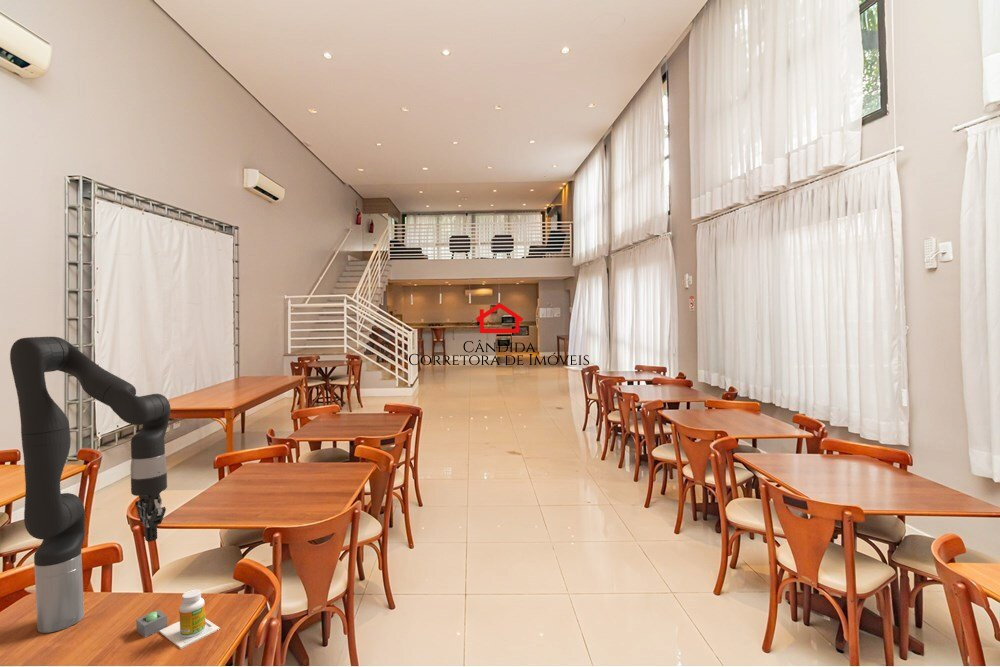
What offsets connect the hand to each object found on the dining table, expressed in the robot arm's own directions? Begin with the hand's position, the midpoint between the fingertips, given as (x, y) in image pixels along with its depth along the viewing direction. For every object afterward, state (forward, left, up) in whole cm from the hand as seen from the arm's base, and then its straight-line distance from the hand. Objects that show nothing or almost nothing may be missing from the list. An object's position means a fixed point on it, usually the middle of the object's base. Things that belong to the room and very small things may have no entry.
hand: (151, 540), depth 127 cm
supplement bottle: (+11, +4, -22) cm, 25 cm away
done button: (+1, -1, -22) cm, 22 cm away
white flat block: (+10, +4, -23) cm, 25 cm away
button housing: (+1, -1, -23) cm, 23 cm away
